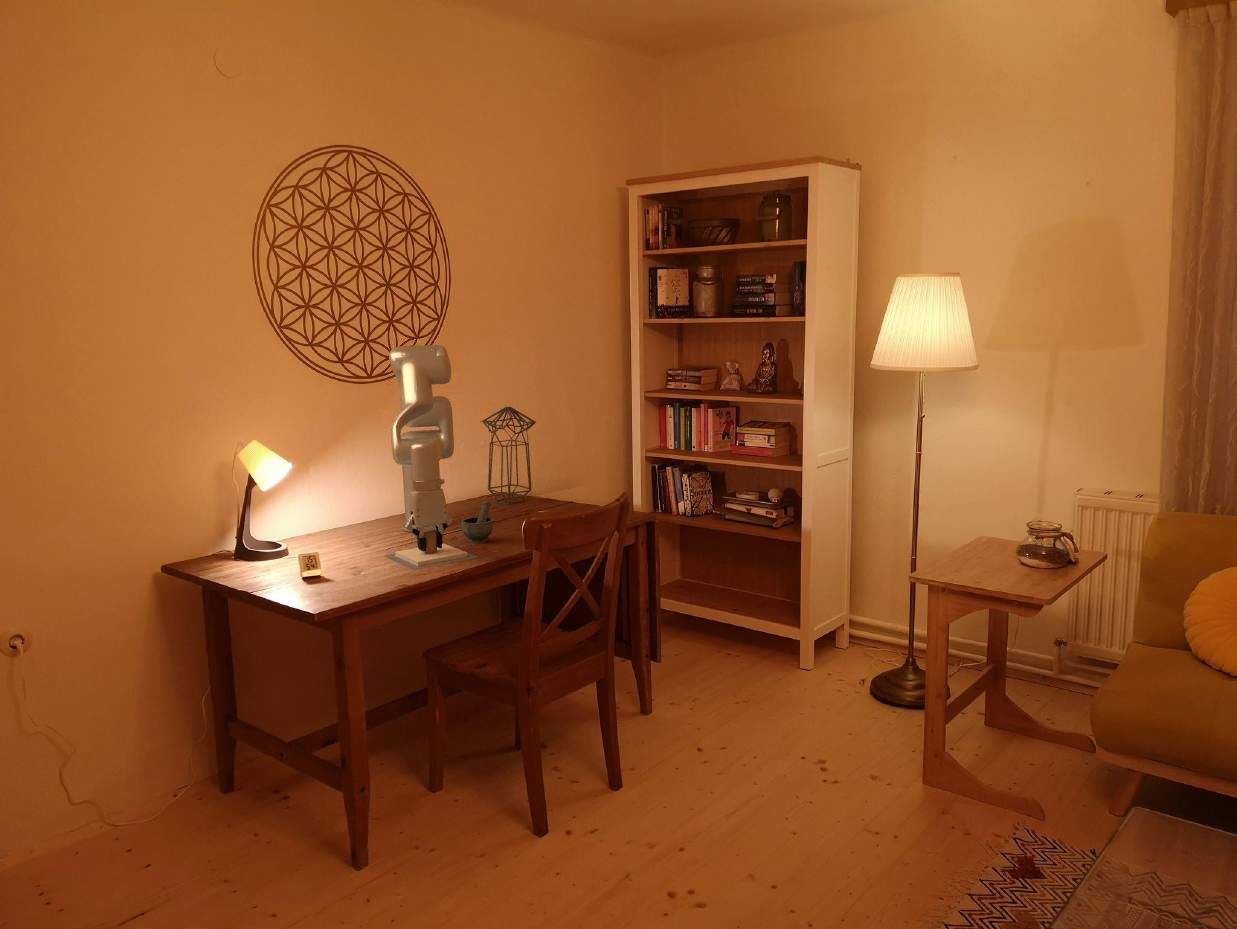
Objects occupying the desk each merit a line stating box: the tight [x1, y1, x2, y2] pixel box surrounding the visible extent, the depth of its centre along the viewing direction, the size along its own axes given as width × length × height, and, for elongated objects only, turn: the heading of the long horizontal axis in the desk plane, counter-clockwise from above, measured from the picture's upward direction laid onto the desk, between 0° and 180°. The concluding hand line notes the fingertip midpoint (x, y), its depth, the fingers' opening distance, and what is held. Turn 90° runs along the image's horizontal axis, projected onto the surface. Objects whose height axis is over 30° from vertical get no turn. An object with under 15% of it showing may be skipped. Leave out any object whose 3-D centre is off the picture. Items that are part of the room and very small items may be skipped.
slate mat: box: [383, 543, 479, 571], centre depth 271 cm, size 20×20×1 cm
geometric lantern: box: [480, 406, 537, 505], centre depth 347 cm, size 16×16×35 cm
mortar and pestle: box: [460, 500, 494, 544], centre depth 289 cm, size 11×9×12 cm
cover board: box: [394, 530, 467, 566], centre depth 271 cm, size 15×15×7 cm
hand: (430, 548), depth 271 cm, fingers open, 4 cm apart
